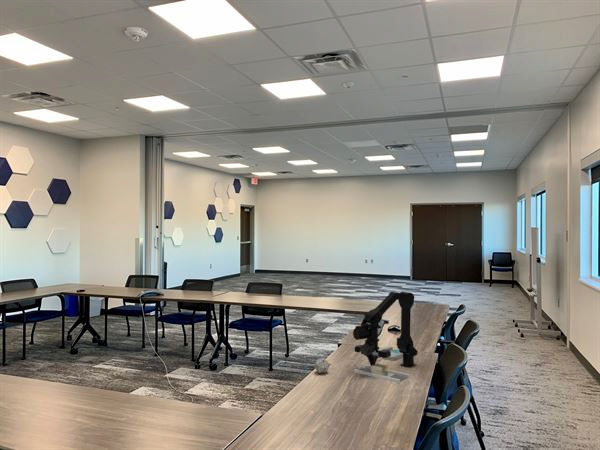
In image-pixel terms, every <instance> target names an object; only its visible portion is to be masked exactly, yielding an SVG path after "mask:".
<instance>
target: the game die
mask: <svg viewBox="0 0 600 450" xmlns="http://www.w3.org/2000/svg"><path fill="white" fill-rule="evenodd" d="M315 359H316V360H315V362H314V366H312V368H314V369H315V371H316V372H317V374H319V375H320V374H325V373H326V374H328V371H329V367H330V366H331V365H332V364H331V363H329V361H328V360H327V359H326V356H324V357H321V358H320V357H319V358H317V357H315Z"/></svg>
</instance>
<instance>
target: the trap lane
mask: <svg viewBox="0 0 600 450" xmlns="http://www.w3.org/2000/svg"><path fill="white" fill-rule="evenodd" d="M353 373H356V374H360V375H364V376H369V377H371V378H377V379H380V380H384V381H389V382H393V383H396V384H401V382H402V381H403V380H406V379H407V378H408V379H410V378H411V374H409V373H404V372H401V371H397V370H391V369H388V374H387V375H385V376H382V375H378V374H374V373H371V365H370V364H369V365H368V364H364V368H363V369H357V368H355V369H353Z"/></svg>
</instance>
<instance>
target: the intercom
mask: <svg viewBox="0 0 600 450" xmlns="http://www.w3.org/2000/svg"><path fill="white" fill-rule="evenodd" d="M383 349H385V350H390V352H391V356H389V357H387V358H381V357H378V359H382V360H385V361H386V360H387V361H390V362H396V361H398V360H401V359H403V353H400V352H399V349H394V346H390V345H389V346H388V345H387V346H384V347H381V348H379V349H378V350H379V351H380V350H383Z"/></svg>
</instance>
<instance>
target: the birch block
mask: <svg viewBox="0 0 600 450" xmlns="http://www.w3.org/2000/svg"><path fill="white" fill-rule="evenodd" d="M370 366H371V365H370ZM388 370H389V366H388V365H387V364H385V363H379V362H376V363H375V364H374V365H372V366H371V373H374V374H378V375H382V376H385V375H387V374H388Z"/></svg>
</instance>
